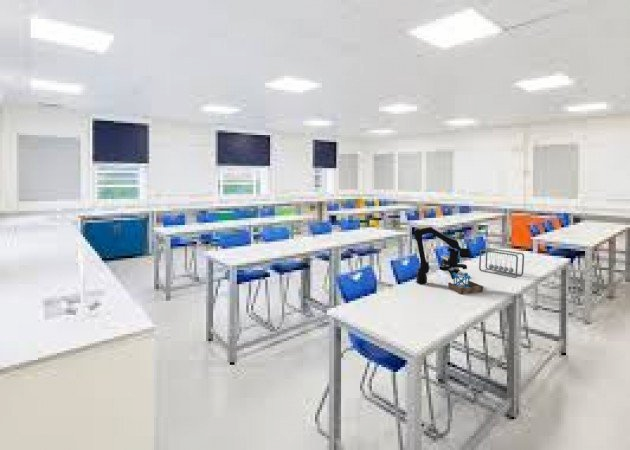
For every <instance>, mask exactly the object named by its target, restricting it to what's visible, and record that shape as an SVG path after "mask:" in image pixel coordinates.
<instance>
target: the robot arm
mask: <svg viewBox="0 0 630 450" xmlns="http://www.w3.org/2000/svg"><path fill="white" fill-rule="evenodd" d="M427 234H431V235H432V236H434V237H436V238H438V239H439V240H441V241H443V242H444V243H446V244H447V245H448V246H449V247H448V248H447V249H446V251H447V252H449V255H448V256H449V258H448V260H445V259H444V260H443V259H441V264H442V265H439V270H441V271H442V270H443V271H442V272H444V271H449V272H450V275H451V276H450V275H449V276H450V278H451V280H454V275H453V273H454V272H455V273H456V274H459V272H460V271H461V269H463V270H468V265H467V264H466V263H459V261H460V259H459V257H460V258H461V259H470V258H471V253H470V248H469V247H467V248H464V247H461V246H460V245H459V241H458V240H457V239H455V238H453V237H449V236H448V235H445V234H444V233H442V232H441V231H438V230H437V229H435V228H434V227H432V226H428V227H423V228H420V227H417V228H415V229H414V231H413V236H414V238H415V241H416V243H417V249H418V255H419V260H420V267H419V269H417V271H416V272H417V273H416V280H415V283H416V282H417V283H416V284H418V285H425V284H428V275H427V273H429V271H430V270H429V269H430V264H429V262H430V261H428V260H426V254H425V253H426V252H425V249H424V243H423V235H424V236H425V235H427ZM443 264H444V265H443ZM446 265H448V266H446Z"/></svg>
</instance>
